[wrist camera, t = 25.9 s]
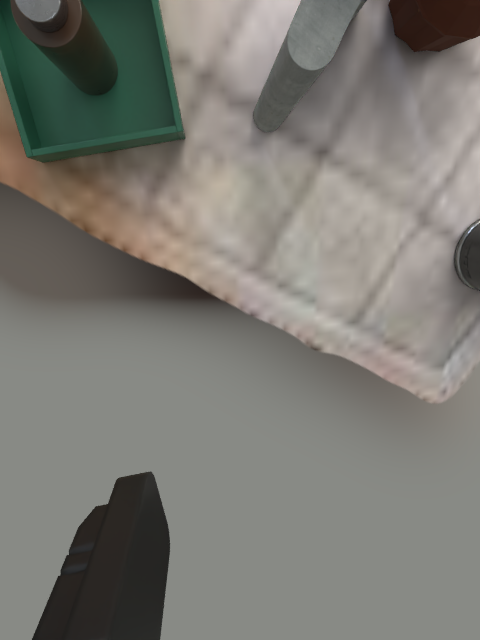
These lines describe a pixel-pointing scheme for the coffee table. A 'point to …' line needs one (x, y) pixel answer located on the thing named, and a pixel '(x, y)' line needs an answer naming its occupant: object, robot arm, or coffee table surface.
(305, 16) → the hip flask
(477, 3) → the muffin
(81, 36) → the pepper mill
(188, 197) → the coffee table surface
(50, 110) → the tray
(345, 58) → the coffee table surface
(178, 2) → the coffee table surface
